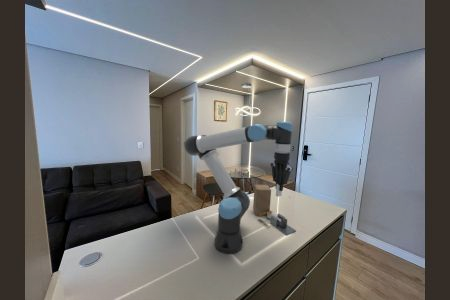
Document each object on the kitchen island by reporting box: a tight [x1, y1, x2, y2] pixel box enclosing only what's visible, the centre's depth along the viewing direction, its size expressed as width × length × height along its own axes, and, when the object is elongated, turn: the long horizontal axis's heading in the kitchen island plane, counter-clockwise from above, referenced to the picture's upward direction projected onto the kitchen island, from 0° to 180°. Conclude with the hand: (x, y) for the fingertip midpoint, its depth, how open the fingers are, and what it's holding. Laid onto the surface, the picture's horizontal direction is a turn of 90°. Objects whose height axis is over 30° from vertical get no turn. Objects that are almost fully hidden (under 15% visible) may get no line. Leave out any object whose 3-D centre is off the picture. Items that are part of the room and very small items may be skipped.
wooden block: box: [252, 184, 272, 217], centre depth 121 cm, size 10×10×20 cm
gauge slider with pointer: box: [260, 209, 288, 228], centre depth 108 cm, size 11×15×5 cm
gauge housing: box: [256, 213, 297, 236], centre depth 106 cm, size 14×20×5 cm
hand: (278, 195), depth 89 cm, fingers closed
